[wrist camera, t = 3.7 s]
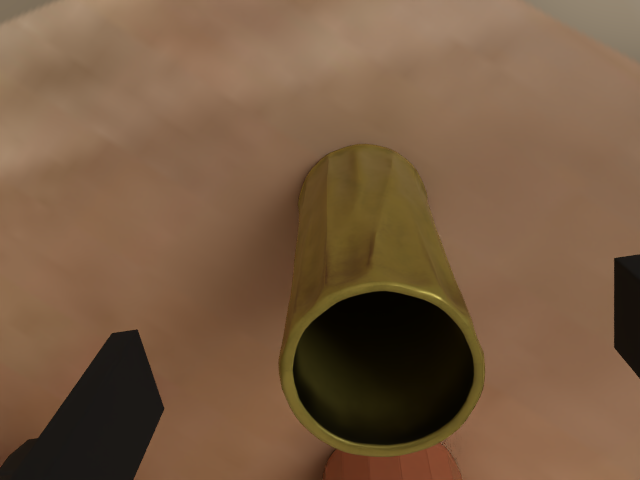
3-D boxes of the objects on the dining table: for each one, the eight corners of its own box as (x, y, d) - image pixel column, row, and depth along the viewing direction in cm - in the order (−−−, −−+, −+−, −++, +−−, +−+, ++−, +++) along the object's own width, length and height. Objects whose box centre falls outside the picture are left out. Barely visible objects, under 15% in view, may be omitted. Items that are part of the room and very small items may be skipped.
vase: (370, 115, 26) (400, 214, 13) (452, 211, 28) (555, 388, 15) (273, 200, 28) (211, 365, 15) (356, 287, 29) (368, 509, 16)
